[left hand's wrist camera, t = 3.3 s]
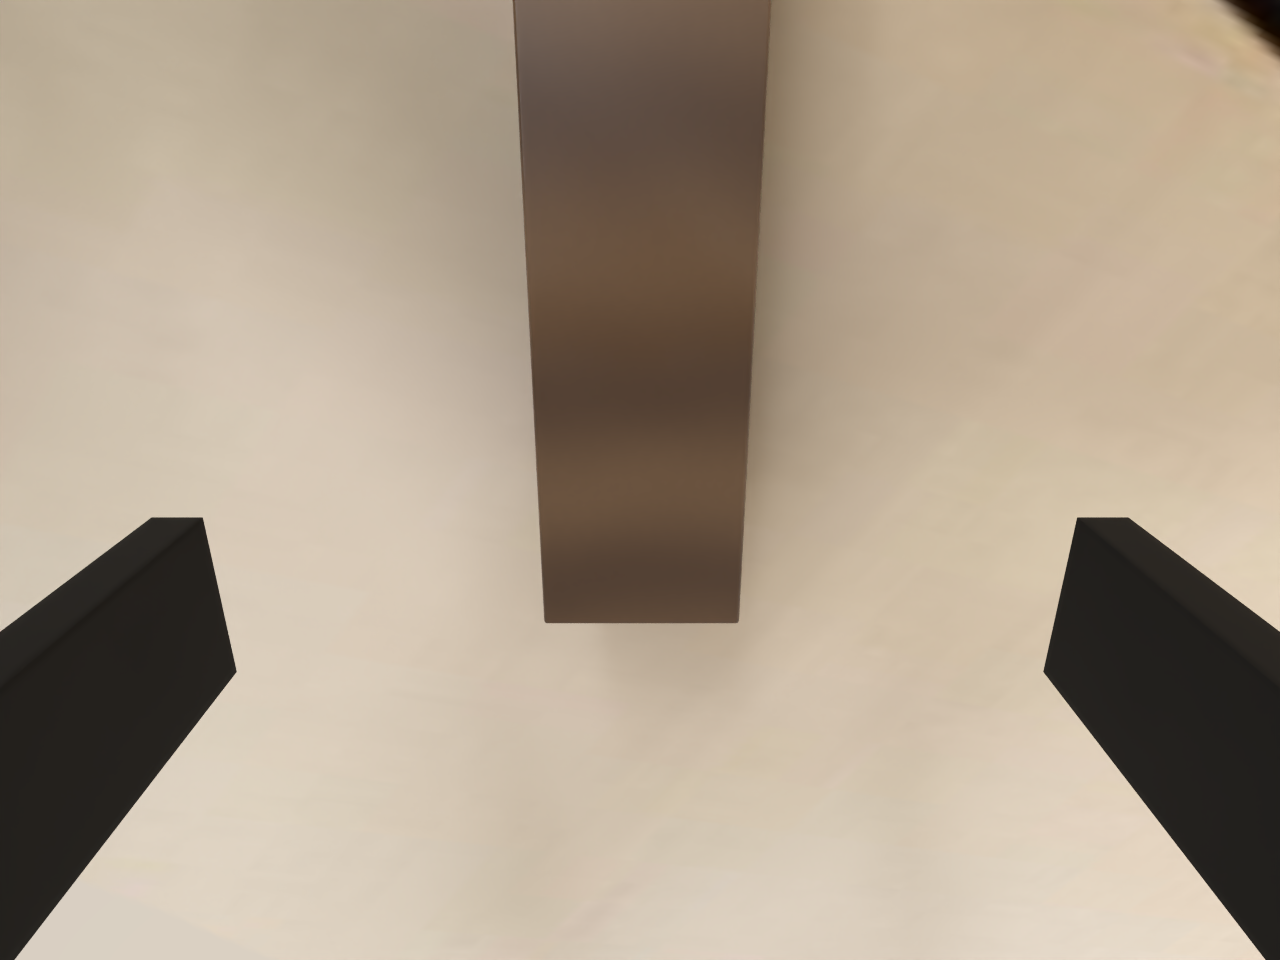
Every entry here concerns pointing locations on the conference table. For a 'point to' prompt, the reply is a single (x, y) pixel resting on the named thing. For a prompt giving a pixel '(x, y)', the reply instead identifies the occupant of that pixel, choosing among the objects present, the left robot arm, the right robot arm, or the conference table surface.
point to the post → (641, 296)
